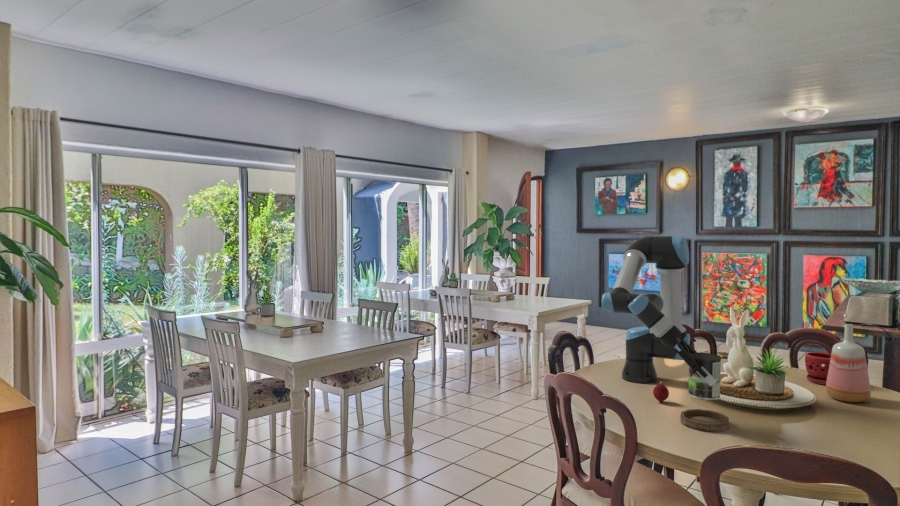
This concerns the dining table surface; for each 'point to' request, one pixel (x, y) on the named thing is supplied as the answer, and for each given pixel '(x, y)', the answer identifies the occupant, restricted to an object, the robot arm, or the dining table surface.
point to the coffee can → (698, 384)
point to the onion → (661, 392)
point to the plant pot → (817, 366)
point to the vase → (848, 371)
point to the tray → (704, 420)
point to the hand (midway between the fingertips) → (714, 379)
